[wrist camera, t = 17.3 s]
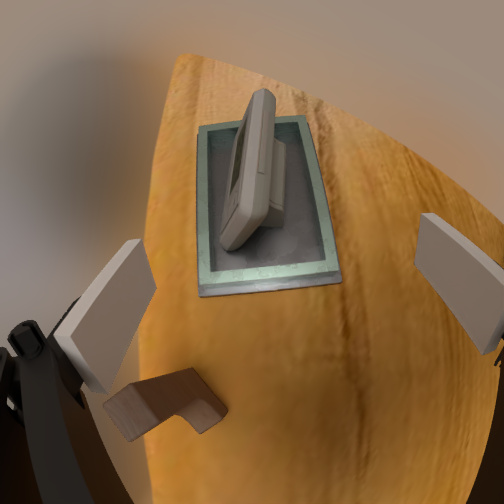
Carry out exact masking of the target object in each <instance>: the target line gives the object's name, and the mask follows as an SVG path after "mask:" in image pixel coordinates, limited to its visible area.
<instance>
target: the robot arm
mask: <svg viewBox="0 0 504 504" xmlns="http://www.w3.org/2000/svg"><path fill="white" fill-rule="evenodd" d="M414 265H415V266H416V267H417V268H418V270H419V271H420V272H421V273H422V274H423V276H424V277H425V278H426V279H427V281H428V282H429V283H430V284H431V285H432V287H433V288H434V289H435V291H436V292H437V293H438V294H439V296H440V297H441V298H442V300H443V301H444V302H445V303H446V305H447V306H448V307H449V309H450V310H451V311H452V313H453V314H454V316H455V317H456V318H457V320H458V321H459V322H460V324H461V325H462V327H463V328H464V330H465V331H466V332H467V334H468V335H469V337H470V338H471V340H472V341H473V343H474V344H475V346H476V347H477V349H478V350H479V352H480V353H481V355H484V354H487V353H489V352H492V351H494V350H495V349H496V347H497V346H498V344H499V342H500V340H501V338H502V339H503V340H504V270H503V268H502V267H501V266H500V265H499V264H498V263H497V262H495V261H494V260H492V259H491V258H490V257H489V256H488V255H486V254H485V253H484V252H483V251H482V250H481V249H479V248H478V247H477V246H476V245H475V244H473V243H472V242H471V241H470V240H469V239H467V238H466V237H465V236H464V235H462V234H461V233H460V232H458V231H457V230H456V229H455V228H453V227H452V226H451V225H449V224H448V223H447V222H445V221H444V220H443V219H441V218H440V217H439V216H437V215H436V214H434V213H421V219H420V227H419V235H418V242H417V249H416V255H415V261H414ZM156 289H157V287H156V284H155V281H154V278H153V275H152V272H151V268H150V265H149V262H148V259H147V255H146V252H145V248H144V245H143V241H142V239H134V240H128V241H127V242H126V243H125V244H124V245H123V246H122V247H121V248H120V250H119V251H118V252H117V253H116V254H115V256H114V257H113V258H112V259H111V260H110V261H109V263H108V264H107V265H106V266H105V267H104V269H103V270H102V271H101V272H100V273H99V275H98V276H97V277H96V278H95V280H94V281H93V282H92V283H91V285H90V286H89V287H88V288H87V290H86V291H85V292H84V294H83V295H82V296H80V297H79V298H78V299H77V300H75V301H74V302H73V303H72V305H71V306H70V307H69V308H68V310H67V312H66V313H65V314H64V315H63V317H62V319H60V321H59V322H58V323H57V325H56V326H55V328H54V329H53V330H52V332H51V333H50V335H49V336H48V337H47V339H46V338H45V336H44V334H43V333H42V331H41V330H40V328H39V326H38V324H37V322H36V321H34V320H27V321H24V322H22V323H20V324H19V325H17V326H16V327H15V328H14V329H13V330H12V331H11V333H10V334H9V336H8V339H7V340H8V342H9V343H10V345H11V346H12V348H13V349H14V351H15V352H16V354H17V355H18V356H16V357H12V356H11V355H10V353H9V352H8V351H7V349H6V348H4V347H0V504H134V503H133V501H132V499H131V498H130V496H129V494H128V492H127V491H126V489H125V487H124V485H123V483H122V481H121V479H120V478H119V476H118V474H117V472H116V470H115V468H114V466H113V464H112V462H111V459H110V457H109V455H108V453H107V451H106V449H105V447H104V444H103V442H102V440H101V438H100V435H99V432H98V430H97V428H96V425H95V422H94V420H93V417H92V414H91V412H90V409H89V406H88V403H87V401H86V397H85V395H84V393H83V391H82V390H81V389H80V388H81V385H82V384H83V382H85V384H86V385H87V386H88V388H89V389H90V390H91V391H92V392H96V393H103V394H109V391H110V389H111V387H112V384H113V382H114V379H115V377H116V375H117V372H118V370H119V368H120V365H121V363H122V361H123V358H124V356H125V354H126V352H127V350H128V347H129V345H130V343H131V341H132V339H133V336H134V334H135V332H136V330H137V328H138V326H139V324H140V321H141V319H142V317H143V315H144V313H145V311H146V309H147V307H148V305H149V303H150V301H151V299H152V297H153V295H154V293H155V291H156ZM500 360H501V364H500V366H499V367H500V377H499V385H498V392H497V399H496V405H495V410H494V415H493V420H492V425H491V429H490V433H489V437H488V441H487V445H486V448H485V452H484V455H483V459H482V462H481V465H480V468H479V471H478V474H477V477H476V480H475V482H474V485H473V488H472V490H471V493H470V495H469V498H468V500H467V502H466V504H504V347H503V349H502V350H501V352H500V354H499V356H498V358H497V359H496V361H495V364H494V366H496V365H497V364H498V362H499V361H500ZM7 397H8V398H9V399H10V400H11V402H13V404H14V409H13V410H12V409H11V408H10V407H9V406H8V405H7Z"/></svg>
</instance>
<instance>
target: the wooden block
mask: <svg viewBox="0 0 504 504" xmlns="http://www.w3.org/2000/svg"><path fill="white" fill-rule="evenodd" d="M103 408H104V409H105V410H106V412H107V414H108V415H109V417H110V418H111V419H112V421H113V422H114V423H115V425H116V426H117V428H118V429H119V430H120V432H121V433H122V434H123V436H124V437H125V438H126V440H127V441H128V442H132V441H134V440H135V439H137V438H139V437H140V436H142V435H143V434H145V433H147V432H148V431H150V430H151V429H153V428H155V427H156V426H158V425H159V424H161V423H162V422H164V421H165V420H167V419H168V418H170V417H171V416H173V415H179V416H181V417H183V418H184V419H185V420H186V421H187V422H189V423H190V424H191V425H192V427H193V428H194V429H195V430H196V431H197V432H198V433H199V434H202V433H204V432H205V431H207V430H208V429H210V428H211V427H212V426H214V425H215V424H217V423H218V422H220V421H221V420H222V419H223V418H224V417H225V415H226V414H227V412H228V410H227V409H226V408H225V406H224V405H223V404H222V403H221V402H220V401H219V399H218V398H217V397H216V396H215V395H214V394H213V392H212V391H211V390H210V389H209V388H208V386H207V385H206V384H205V383H204V382H203V380H202V379H201V378H200V377H199V375H198V374H197V373H196V372H195V370H194V369H193V368H188V369H184V370H181V371H177V372H174V373H170V374H166V375H162V376H158V377H155V378H151V379H147V380H142V381H138V382H134V383H130V384H128V385H127V386H126V387H124V388H123V389H122V390H121V391H119V392H118V393H116V394H115V395H114V396H113V397H111V398H110V399H109V400H107V401H106V402H105V403H104V404H103Z"/></svg>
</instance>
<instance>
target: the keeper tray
mask: <svg viewBox="0 0 504 504" xmlns="http://www.w3.org/2000/svg"><path fill="white" fill-rule="evenodd" d="M241 122H242V120H240V121H232V122H224V123H217V124H211V125H204V126H199V133H198V134H197V162H196V235H197V272H198V296H199V297H200V298H205V297H218V296H230V295H241V294H252V293H262V292H272V291H281V290H291V289H300V288H308V287H317V286H325V285H333V284H340V283H341V282H342V277H341V271H340V265H339V259H338V253H337V247H336V242H335V236H334V231H333V226H332V221H331V216H330V211H329V206H328V202H327V197H326V192H325V188H324V183H323V179H322V175H321V171H320V166H319V162H318V158H317V154H316V150H315V147H314V143H313V139H312V135H311V131H310V128H309V124H308V123H307V121H306V117H305V115H297V116H281V117H275V127H274V137H275V138H276V139H277V140H278V141H280V142H283V143H285V145H286V149H287V151H286V177H285V200H284V219H283V227H267V226H258V227H257V228H256V230H255V231H254V232H253V233H252V234H251V235H250V237H249V238H248V239H247V240H246V241H245V242H244V244H243V245H242V246H241V247H239V248H238V249H236V250H233V251H226V250H225V249H224V248H223V247H222V246H221V244H220V243H219V237H220V229H221V222H222V215H223V207H224V200H225V194H226V187H227V180H228V174H229V167H230V161H231V154H232V148H233V143H234V139H235V137H236V134H237V131H238V129H239V126H240V124H241Z"/></svg>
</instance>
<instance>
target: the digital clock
mask: <svg viewBox="0 0 504 504" xmlns="http://www.w3.org/2000/svg"><path fill="white" fill-rule="evenodd" d="M275 110H276V98H275V96H274V95H273V94H272V93H271V92H270V91H269V90H267V89H264V88H263V89H260V90H258V91H255V92H254V93H253V95H252V97H251V100H250V102H249V104H248V107H247V109H246V112H245V114H244V117H243V119H242V122H241V124H240V126H239V129H238V131H237V134H236V137H235V139H234V143H233V148H232V154H231V161H230V167H229V174H228V180H227V187H226V194H225V200H224V207H223V215H222V222H221V229H220V237H219V243H220V244H221V246H222V247H223V248H224V249H225V250H226V251H233V250H236V249H238V248H239V247H241V246H242V245H243V244H244V242H245V241H246V240H247V239H248V238H249V237H250V235H251V234H252V233H253V232H254V231H255V230H256V228H257V227H258V226H267V227H283V219H284V200H285V177H286V151H287V149H286V145H285V143H283V142H280V141H278V140H277V139H276V138H275V137H274V127H275Z"/></svg>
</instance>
